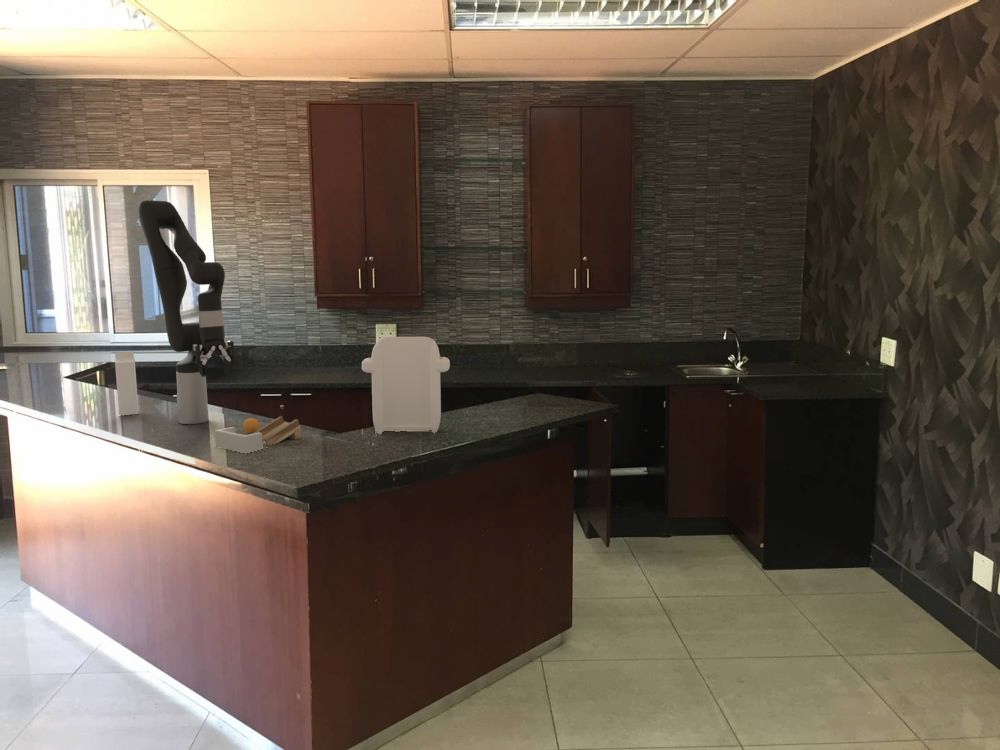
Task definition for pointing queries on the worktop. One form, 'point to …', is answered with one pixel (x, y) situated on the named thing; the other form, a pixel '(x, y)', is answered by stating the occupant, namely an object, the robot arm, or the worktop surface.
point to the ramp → (279, 431)
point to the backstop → (238, 440)
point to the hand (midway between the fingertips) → (215, 374)
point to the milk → (126, 383)
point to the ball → (251, 425)
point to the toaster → (406, 384)
